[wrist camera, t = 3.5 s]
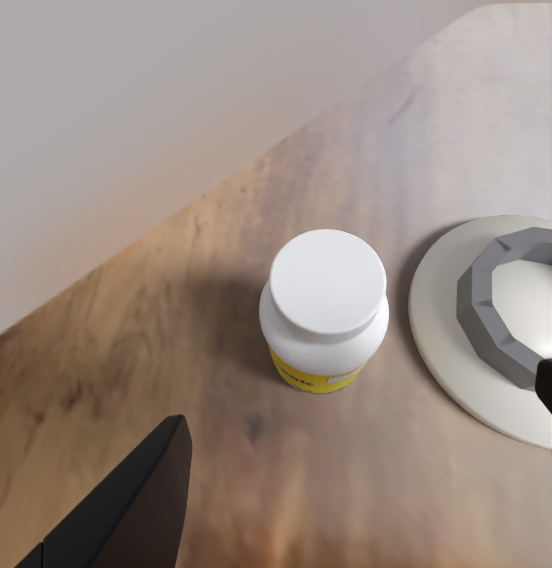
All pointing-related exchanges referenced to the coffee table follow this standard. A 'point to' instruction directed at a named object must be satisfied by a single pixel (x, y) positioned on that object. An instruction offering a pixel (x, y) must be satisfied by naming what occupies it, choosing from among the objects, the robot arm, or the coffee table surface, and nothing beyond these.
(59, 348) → the coffee table surface
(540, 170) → the coffee table surface
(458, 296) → the socket collar
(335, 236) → the supplement bottle
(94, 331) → the coffee table surface
